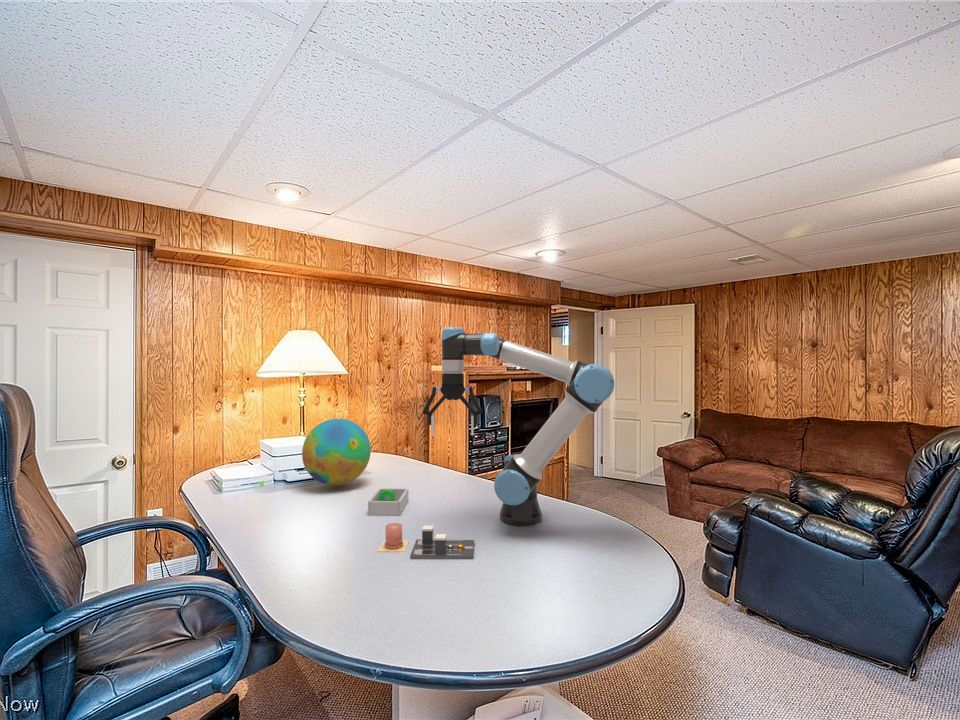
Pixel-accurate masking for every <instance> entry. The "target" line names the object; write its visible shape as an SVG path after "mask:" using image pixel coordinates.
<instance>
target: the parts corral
mask: <svg viewBox="0 0 960 720" xmlns="http://www.w3.org/2000/svg"><path fill="white" fill-rule="evenodd" d="M387 489H389V490H391V491H393V493H394V501H380V495H381V493H382V492H383V491H384V490H387ZM384 499H385V500H390V496H389V495H385V496H384ZM408 503H409V488H389V487H388V488H387V487H386V488H378V489H377V490H376V492H375V493H374V494H373V495H372V496H371V497H370V499H369V500H368V501H367V515H368V516H370V517H371V516H375V517H376V516H377V517H383V516H385V517H386V516H389V517H395V516H396V517H398V516H401V515H402V513H403V512H404V510H405V508H406V506H407V505H408Z"/></svg>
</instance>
